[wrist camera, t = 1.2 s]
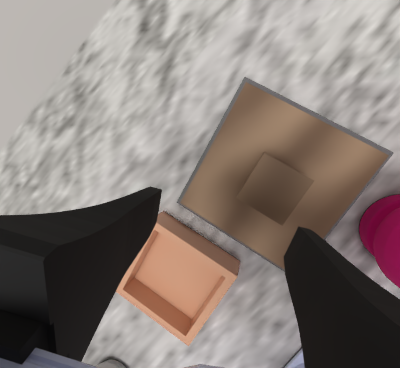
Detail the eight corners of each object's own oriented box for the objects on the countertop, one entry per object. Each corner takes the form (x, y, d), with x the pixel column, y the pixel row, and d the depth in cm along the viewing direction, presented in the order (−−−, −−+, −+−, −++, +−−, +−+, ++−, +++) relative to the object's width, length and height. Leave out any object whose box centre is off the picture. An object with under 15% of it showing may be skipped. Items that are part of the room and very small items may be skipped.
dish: (240, 261, 24) (237, 276, 21) (196, 324, 26) (188, 346, 23) (163, 211, 25) (151, 218, 22) (129, 275, 28) (114, 290, 25)
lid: (383, 155, 18) (425, 156, 14) (292, 271, 22) (301, 303, 17) (246, 84, 20) (242, 65, 16) (182, 201, 24) (164, 213, 19)
